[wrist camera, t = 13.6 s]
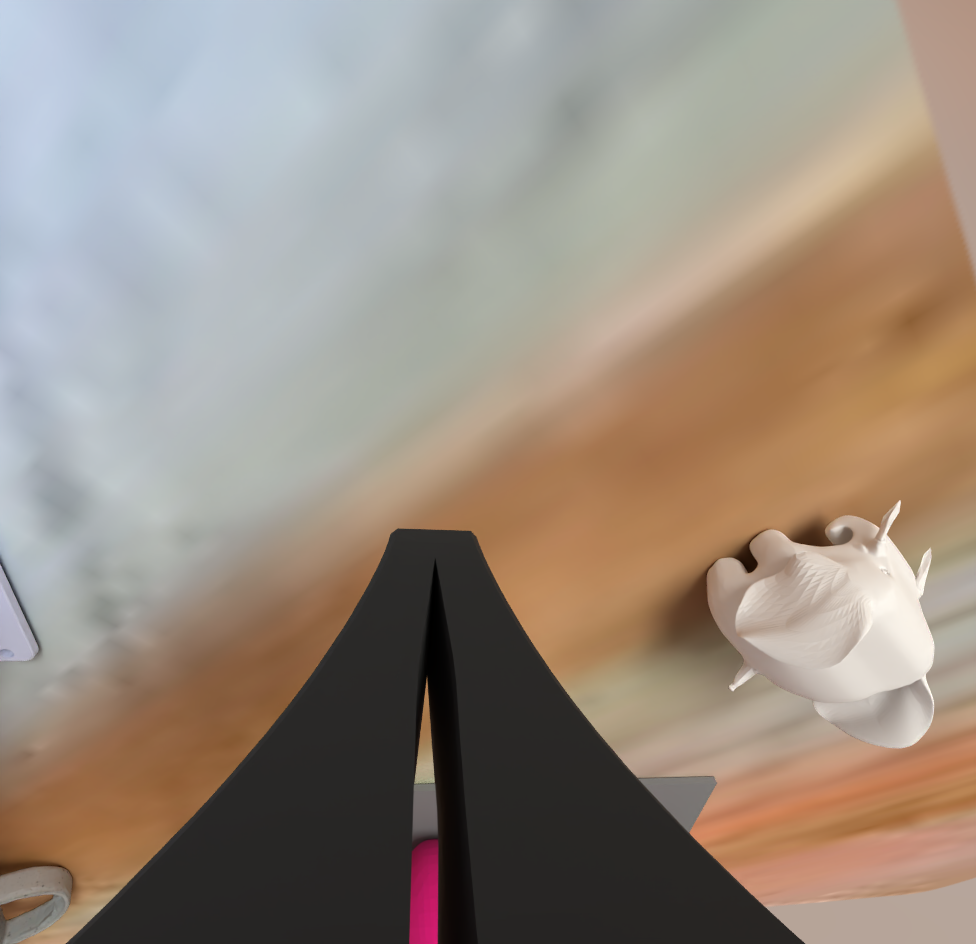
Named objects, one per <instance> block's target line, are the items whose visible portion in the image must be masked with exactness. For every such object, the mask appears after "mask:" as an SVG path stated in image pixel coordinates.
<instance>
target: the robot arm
mask: <svg viewBox="0 0 976 944" xmlns="http://www.w3.org/2000/svg"><path fill="white" fill-rule="evenodd" d="M38 651H39V648H38V645H37V643H36V641H35V639H34V636H33V634H32V632H31V630H30V628H29V626H28V623H27V621H26V619H25V617H24V615H23V613H22V610H21V608H20V606H19V604H18V602H17V600H16V597H15V595H14V593H13V591H12V589H11V587H10V584H9V582H8V580H7V578H6V576H5V574H4V571H3V569H2V567H1V565H0V661H28V660H31V659H33V658H34V656H35V655H36V654H37V653H38ZM426 679H427V680H428V695H429V709H430V722H431V736H432V750H433V763H434V777H435V790H436V804H437V824H438V944H805V943H804V942H803V941H802V940H800V939H799V938H798V937H797V936H796V935H795V934H794V933H792V931H790V930H789V929H788V928H787V927H786V926H785V925H784V924H783V923H782V922H781V921H780V920H779V919H777V918H776V917H775V916H774V915H773V914H772V913H771V912H770V911H769V910H768V909H767V908H766V907H764V906H763V905H762V904H761V903H760V902H759V901H758V900H757V899H756V898H755V897H754V896H753V895H751V894H750V893H749V892H748V891H747V890H746V889H745V888H744V887H743V886H742V885H741V884H740V883H739V882H738V881H737V880H736V879H735V878H734V877H733V876H732V875H731V874H730V873H729V872H728V871H727V870H726V869H725V868H724V867H723V866H722V865H721V864H720V863H719V862H718V861H717V860H716V859H714V858H713V857H712V856H711V855H710V854H709V853H708V852H707V851H706V850H705V849H704V848H703V847H702V846H701V845H700V844H699V843H698V842H697V841H696V840H695V839H694V838H693V837H692V836H691V835H690V834H689V833H688V831H687V830H686V829H685V828H684V827H683V826H682V825H681V824H680V823H679V822H678V821H677V820H676V819H675V818H674V817H673V815H672V814H671V813H670V812H669V811H668V810H667V809H666V808H665V807H664V806H663V805H662V804H661V803H660V802H659V801H658V800H657V798H656V797H655V796H654V795H653V794H652V793H651V792H650V791H649V790H648V789H647V788H646V787H645V786H644V785H643V784H642V783H641V781H640V780H639V779H638V778H637V777H636V776H635V775H634V774H633V773H632V772H631V771H630V770H629V769H628V767H627V766H626V765H625V764H624V763H623V762H622V760H621V759H620V758H619V757H618V756H617V755H616V753H615V752H614V751H613V750H612V749H611V747H610V746H609V745H608V744H607V743H606V742H605V740H604V739H603V738H602V737H601V736H600V734H599V733H598V732H597V731H596V730H595V728H594V727H593V726H592V725H591V723H590V722H589V721H588V720H587V718H586V717H585V716H584V715H583V713H582V712H581V711H580V709H579V708H578V707H577V706H576V704H575V703H574V702H573V700H572V699H571V698H570V696H569V695H568V694H567V692H566V691H565V690H564V688H563V687H562V686H561V684H560V683H559V681H558V680H557V679H556V677H555V676H554V675H553V673H552V672H551V670H550V669H549V667H548V666H547V664H546V663H545V661H544V660H543V658H542V657H541V655H540V654H539V653H538V651H537V650H536V648H535V647H534V645H533V643H532V642H531V640H530V639H529V637H528V636H527V634H526V632H525V631H524V629H523V628H522V626H521V624H520V623H519V621H518V619H517V617H516V616H515V614H514V612H513V611H512V609H511V607H510V606H509V604H508V602H507V601H506V599H505V597H504V595H503V593H502V591H501V590H500V588H499V586H498V584H497V582H496V580H495V578H494V576H493V574H492V572H491V570H490V568H489V566H488V564H487V562H486V560H485V557H484V555H483V553H482V550H481V548H480V546H479V543H478V540H477V537H476V536H475V535H474V534H473V533H472V532H471V531H455V530H425V529H397V530H395V531H394V532H393V533H391V535H390V538H389V542H388V544H387V547H386V550H385V552H384V555H383V557H382V559H381V561H380V563H379V566H378V568H377V570H376V572H375V573H374V575H373V577H372V579H371V581H370V583H369V585H368V587H367V589H366V590H365V592H364V594H363V596H362V597H361V599H360V601H359V603H358V604H357V606H356V608H355V609H354V611H353V613H352V615H351V616H350V618H349V620H348V621H347V623H346V624H345V626H344V628H343V629H342V631H341V632H340V634H339V635H338V637H337V638H336V640H335V641H334V643H333V644H332V646H331V647H330V648H329V650H328V651H327V653H326V654H325V656H324V657H323V659H322V660H321V662H320V663H319V665H318V666H317V668H316V669H315V671H314V672H313V673H312V675H311V676H310V677H309V679H308V680H307V682H306V683H305V684H304V686H303V687H302V688H301V690H300V691H299V692H298V694H297V695H296V696H295V698H294V699H293V700H292V702H291V703H290V704H289V705H288V707H287V708H286V709H285V710H284V712H283V713H282V714H281V715H280V717H279V718H278V719H277V720H276V722H275V723H274V724H273V726H272V727H271V728H270V729H269V730H268V732H267V733H266V734H265V735H264V737H263V738H262V739H261V740H260V741H259V742H258V744H257V745H256V746H255V747H254V748H253V749H252V750H251V752H250V753H249V754H248V755H247V756H246V757H245V759H244V760H243V761H242V762H241V763H240V764H239V766H238V767H237V768H236V769H235V770H234V771H233V773H232V774H231V775H230V776H229V777H228V778H227V780H226V781H225V782H224V783H223V784H222V785H221V786H220V787H219V788H218V790H217V791H216V792H215V793H214V794H213V795H212V796H211V797H210V798H209V800H208V801H207V802H206V803H205V804H204V805H203V806H202V807H201V808H200V809H199V810H198V812H197V813H196V814H195V815H194V816H193V817H192V818H191V819H190V820H189V821H188V822H187V823H186V824H185V825H184V826H183V827H182V828H181V829H180V830H179V831H178V832H177V833H176V834H175V835H174V836H173V837H172V838H171V839H170V840H169V841H168V843H167V844H166V845H165V846H164V847H163V848H162V849H161V850H160V851H159V852H158V853H157V854H156V855H155V856H154V857H153V858H152V859H151V860H150V861H149V862H148V863H147V864H146V865H145V866H144V867H143V868H142V869H141V870H140V871H139V872H138V873H137V874H136V875H135V876H134V877H133V878H132V879H131V880H130V881H129V882H128V884H127V885H126V886H125V887H124V888H123V889H122V890H121V891H120V892H119V893H118V894H117V895H116V896H115V897H114V898H113V899H112V900H111V901H110V902H109V903H108V904H107V905H106V906H105V907H104V908H103V909H102V910H101V911H100V912H99V913H98V914H97V915H95V916H94V917H93V918H92V919H91V920H90V921H89V922H88V923H87V924H86V925H85V926H84V927H83V928H82V929H81V930H80V931H79V932H78V933H77V934H76V935H75V936H74V937H73V938H71V939H70V940H69V941H68V942H67V943H66V944H409V937H410V902H411V867H412V832H413V798H414V781H415V773H416V764H417V756H418V747H419V739H420V730H421V722H422V713H423V705H424V696H425V688H426Z"/></svg>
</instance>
